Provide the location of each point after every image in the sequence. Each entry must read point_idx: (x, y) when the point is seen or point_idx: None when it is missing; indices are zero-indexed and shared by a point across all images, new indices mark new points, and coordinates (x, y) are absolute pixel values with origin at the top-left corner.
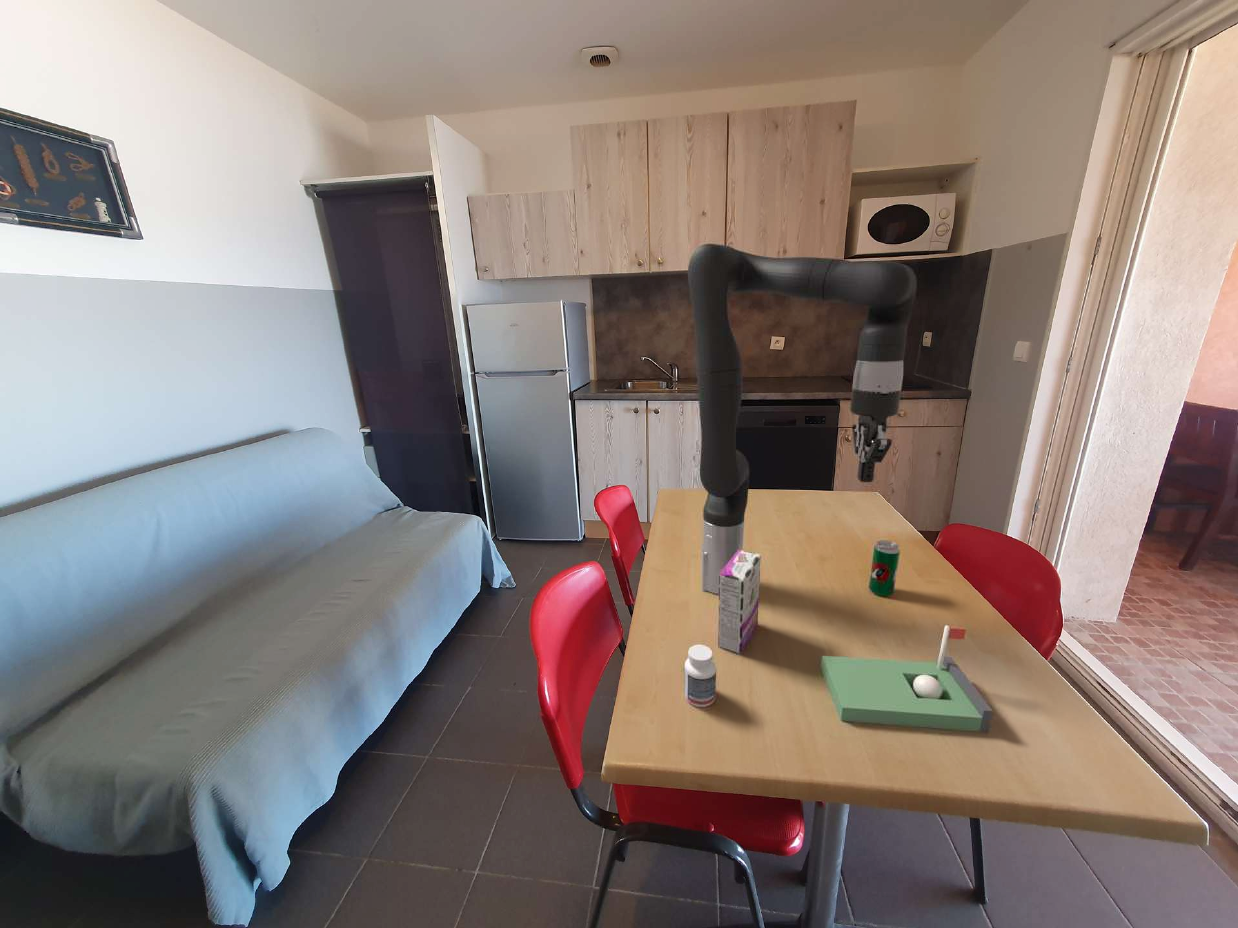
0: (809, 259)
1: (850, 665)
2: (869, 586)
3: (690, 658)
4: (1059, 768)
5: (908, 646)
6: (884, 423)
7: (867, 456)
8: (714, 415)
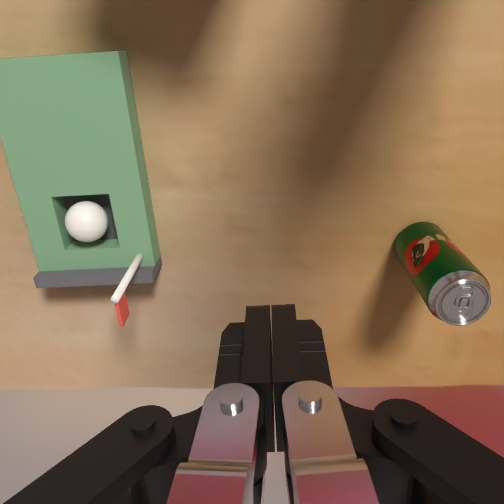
0: None
1: (102, 104)
2: (425, 223)
3: None
4: (19, 319)
5: (229, 233)
6: None
7: (114, 450)
8: None
